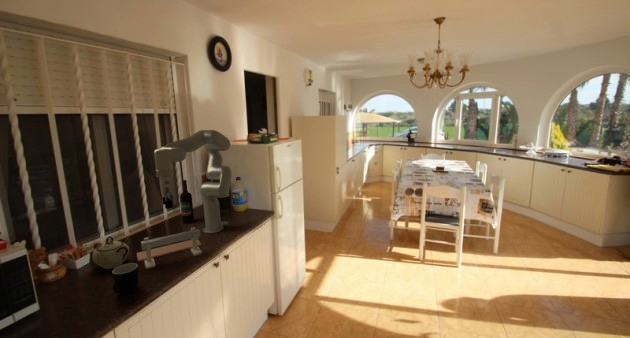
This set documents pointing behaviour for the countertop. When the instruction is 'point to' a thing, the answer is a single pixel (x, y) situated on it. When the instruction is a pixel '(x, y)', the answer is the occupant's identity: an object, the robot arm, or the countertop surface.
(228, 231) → the countertop surface
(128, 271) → the mug
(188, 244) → the terracotta mat
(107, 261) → the sugar bowl
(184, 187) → the wine bottle
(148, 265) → the shelf brackets
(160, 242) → the steel rail
